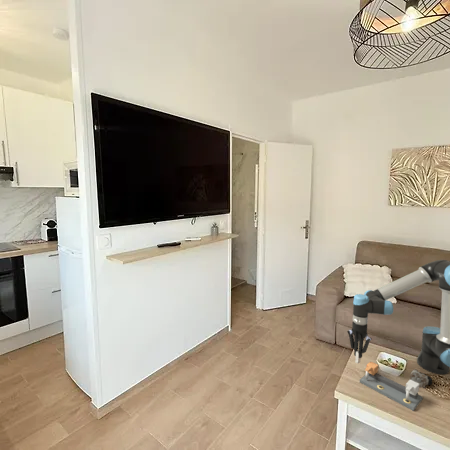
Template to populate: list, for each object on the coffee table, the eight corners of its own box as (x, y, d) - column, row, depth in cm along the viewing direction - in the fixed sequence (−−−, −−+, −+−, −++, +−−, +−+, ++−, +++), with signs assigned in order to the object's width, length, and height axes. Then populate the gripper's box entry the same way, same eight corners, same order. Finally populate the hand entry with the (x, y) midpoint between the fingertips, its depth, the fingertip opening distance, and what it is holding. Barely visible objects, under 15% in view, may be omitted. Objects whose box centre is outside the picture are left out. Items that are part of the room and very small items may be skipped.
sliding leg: (370, 370, 152) (370, 361, 151) (377, 374, 149) (378, 364, 148) (362, 377, 146) (362, 367, 146) (370, 381, 143) (370, 371, 142)
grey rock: (426, 383, 149) (435, 392, 139) (403, 374, 152) (410, 383, 142) (429, 371, 149) (438, 380, 139) (406, 363, 152) (413, 371, 142)
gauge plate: (369, 373, 153) (370, 360, 152) (422, 399, 133) (423, 384, 133) (359, 382, 146) (360, 368, 145) (413, 411, 126) (414, 395, 125)
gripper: (345, 320, 155) (343, 359, 157) (368, 328, 145) (366, 370, 147) (351, 316, 160) (350, 354, 162) (375, 324, 149) (372, 365, 152)
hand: (357, 362), depth 155 cm, fingers closed
